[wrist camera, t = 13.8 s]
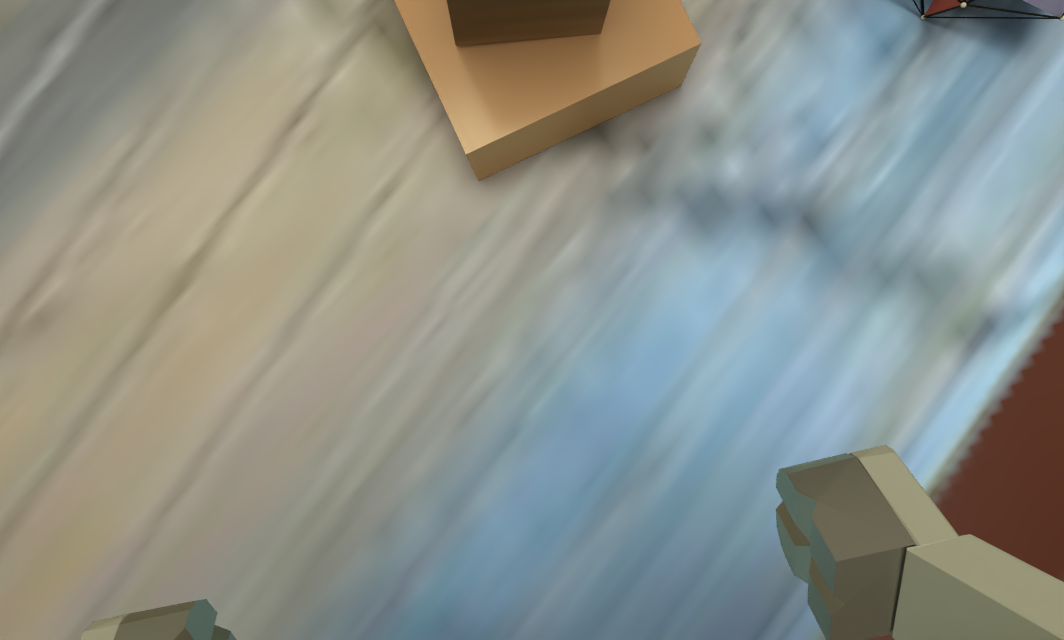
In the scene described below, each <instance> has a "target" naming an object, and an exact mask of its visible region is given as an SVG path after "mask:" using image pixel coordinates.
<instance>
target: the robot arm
mask: <svg viewBox="0 0 1064 640" xmlns="http://www.w3.org/2000/svg"><path fill="white" fill-rule="evenodd" d="M776 488H777V490H778V492H779V494H780V496H781V498H782V500H783V502H782V503H781V504H780V505H779V506H778V508H777V509H776V520H777V529H778V534H779V538H780V543H781V546H782V549H783V551H784V554H785V557H786V559H787V561H788V563H789V566H790V568H791V570H792V572H793V574H794V575H795V576H797V577H798V578H800V579H801V580H803V581H804V582H806V583H808V604H809V606H810V608H811V610H812V612H813V614H814V616H815V618H816V620H817V622H818V624H819V626H820V628H821V630H822V632H823V634H824V636H825V638H826V640H862V639H868V638H873V637H878V636H883V635H888V634H892V637H893V638H894V639H895V640H1064V582H1062V581H1060V580H1058V579H1056V578H1054V577H1052V576H1050V575H1048V574H1046V573H1045V572H1043V571H1041V570H1039V569H1036V568H1035V567H1033V566H1031V565H1029V564H1027V563H1025V562H1023V561H1021V560H1019V559H1017V558H1015V557H1014V556H1012V555H1010V554H1008V553H1006V552H1004V551H1002V550H1000V549H998V548H996V547H994V546H992V545H990V544H988V543H986V542H984V541H982V540H981V539H978V538H977V537H975V536H973V535H971V534H969V535H963V536H959V535H958V534H957V533H956V532H955V530H954V529H953V528H952V526H951V525H950V524H949V522H948V521H947V520H946V518H945V517H944V516H943V514H942V513H941V512H940V510H939V509H938V508H937V506H936V505H935V504H934V502H933V501H932V500H931V499H930V497H929V496H928V495H927V493H926V492H925V491H924V489H923V488H922V487H921V485H920V484H919V483H918V481H917V480H916V479H915V477H914V476H913V475H912V473H911V472H910V471H909V469H908V468H907V467H906V466H905V464H904V463H903V462H902V460H901V459H900V458H899V456H898V455H897V454H896V452H895V451H894V450H893V449H892V448H890V447H888V446H887V445H884V446H880V447H875V448H871V449H866V450H862V451H857V452H853V453H850V454H847V453H845V454H841V455H837V456H833V457H828V458H824V459H820V460H816V461H811V462H807V463H803V464H799V465H795V466H790V467H786V468H782V469H779V471H778V473H777V479H776ZM216 616H217V612H216V611H215V609H214V608H213V607H212V606H211V604H210V603H209V602H208V601H207V599H204V600H197V601H192V602H187V603H182V604H177V605H172V606H166V607H161V608H156V609H151V610H146V611H141V612H136V613H131V614H127V615H122V616H117V617H112V618H108V619H103V620H98V621H93V623H92V624H91V625H90V626H89V627H88V628H87V629H86V630H85V631H84V632H83V634H82V636H81V639H80V640H236V638H235V637H234V636H233V634H232V633H231V631H229V630H226V629H224V628H221V627H219V626H216V625H214V624H215V620H216Z"/></svg>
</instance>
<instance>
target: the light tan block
mask: <svg viewBox="0 0 1064 640" xmlns="http://www.w3.org/2000/svg"><path fill="white" fill-rule="evenodd" d="M394 1H395V3H396V6H397V8H398V10H399V12H400V14H401V16H402V18H403V21H404V23H405V25H406V27H407V29H408V31H409V33H410V36H411V38H412V40H413V42H414V44H415V46H416V48H417V51H418V53H419V55H420V57H421V59H422V61H423V63H424V65H425V68H426V70H427V72H428V74H429V76H430V78H431V80H432V83H433V85H434V87H435V89H436V91H437V93H438V95H439V98H440V100H441V102H442V104H443V106H444V108H445V110H446V113H447V115H448V117H449V119H450V121H451V123H452V125H453V128H454V130H455V132H456V134H457V136H458V138H459V140H460V142H461V145H462V147H463V149H464V151H465V153H466V155H467V157H468V160H469V162H470V164H471V166H472V168H473V170H474V172H475V174H476V177H477V179H478V181H479V180H481V179H483V178H486V177H488V176H490V175H492V174H494V173H496V172H498V171H500V170H503V169H505V168H507V167H509V166H511V165H513V164H515V163H517V162H520V161H522V160H524V159H526V158H528V157H530V156H532V155H534V154H537V153H539V152H541V151H543V150H545V149H547V148H549V147H551V146H554V145H556V144H558V143H560V142H562V141H564V140H566V139H568V138H571V137H573V136H575V135H577V134H579V133H581V132H583V131H585V130H588V129H590V128H592V127H594V126H596V125H598V124H600V123H602V122H605V121H607V120H609V119H611V118H613V117H615V116H617V115H619V114H622V113H624V112H626V111H628V110H630V109H632V108H634V107H637V106H639V105H641V104H643V103H645V102H647V101H649V100H651V99H654V98H656V97H658V96H660V95H662V94H664V93H666V92H668V91H671V90H673V89H675V88H677V87H679V86H681V85H682V83H683V81H684V79H685V77H686V75H687V73H688V70H689V68H690V66H691V64H692V62H693V60H694V58H695V56H696V53H697V51H698V49H699V47H700V45H701V42H700V40H699V38H698V36H697V34H696V32H695V30H694V28H693V26H692V23H691V21H690V19H689V17H688V15H687V13H686V11H685V9H684V7H683V5H682V3H681V1H680V0H611V1H610V4H609V8H608V11H607V14H606V18H605V21H604V25H603V28H602V32H601V34H596V35H584V36H572V37H559V38H546V39H534V40H521V41H508V42H496V43H483V44H470V45H458V46H456V45H455V40H454V35H453V30H452V25H451V20H450V15H449V10H448V5H447V0H394Z"/></svg>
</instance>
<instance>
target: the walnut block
mask: <svg viewBox="0 0 1064 640" xmlns="http://www.w3.org/2000/svg"><path fill="white" fill-rule="evenodd" d="M610 1H611V0H447V5H448V10H449V15H450V20H451V25H452V30H453V35H454V40H455V45H456V46H458V45H470V44H483V43H496V42H508V41H521V40H534V39H546V38H559V37H572V36H584V35H596V34H601V32H602V28H603V25H604V21H605V18H606V14H607V11H608V8H609V4H610Z"/></svg>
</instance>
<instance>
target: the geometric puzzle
mask: <svg viewBox="0 0 1064 640" xmlns="http://www.w3.org/2000/svg"><path fill="white" fill-rule="evenodd" d="M913 1H914V0H913ZM966 1H967V0H933V2H932V4H931V5H930V7H929V9H928V10H927V12H926V14H924V0H921V8H922V13H921V11H920V10H919V8H918V6H917V4H916V3H915V1H914V3H915V5H916V7H917V8H918V10H919V12H920V13H921V15H922V16H921V17H920V18H921V19H922V20H924V19H925V18H1012V19H1059V20H1060V21H1062V20H1064V0H1023V1H1025V2H1027V3H1029V4H1031V5H1033V6H1035V7H1038V8H1040V9H1042V10H1044V11H1046V12H1048V13H1050V14H1052V15H1054V16H1048V15H1040V14H1033V13H1026V12H1019V11H1012V10H1004V9H997V8H990V7H983V6H976V5H969V3H971V2H972V1H974V0H969V1H967V2H966ZM966 6H969V7H976V8H983V9H990V10H998V11H1005V12H1012V13H1019V14H1027V15H1034V16H1041V17H1048V18H1030V17H929V16H933V15H936V14H939V13H943V12H946V11H949V10H953V9H956V8H959V7H961V8H964V7H966ZM1055 16H1056V17H1055Z"/></svg>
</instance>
